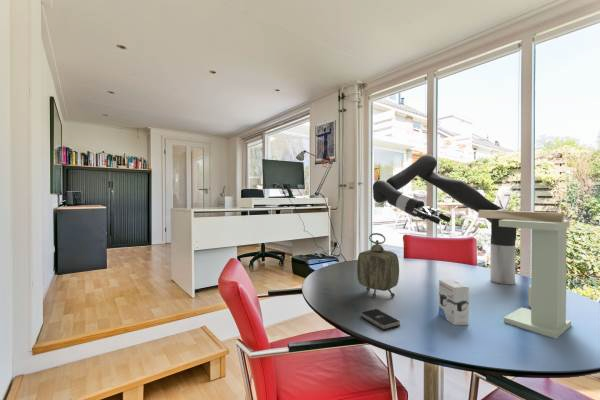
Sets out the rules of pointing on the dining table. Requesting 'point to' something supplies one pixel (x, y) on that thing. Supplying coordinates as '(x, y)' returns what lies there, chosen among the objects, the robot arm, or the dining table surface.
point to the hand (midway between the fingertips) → (444, 220)
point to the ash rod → (522, 215)
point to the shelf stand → (544, 278)
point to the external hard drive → (380, 319)
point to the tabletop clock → (378, 268)
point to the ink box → (454, 301)
